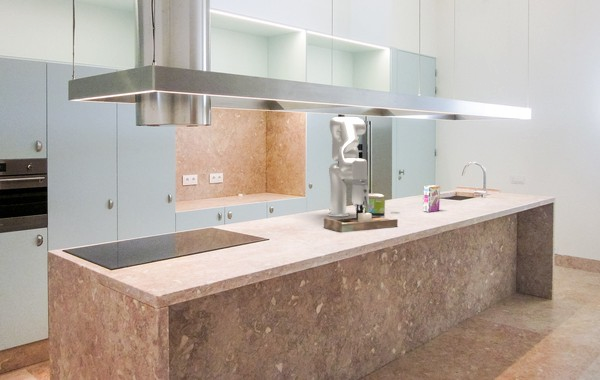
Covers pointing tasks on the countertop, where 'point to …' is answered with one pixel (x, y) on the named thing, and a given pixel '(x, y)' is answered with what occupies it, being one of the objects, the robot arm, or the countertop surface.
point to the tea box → (376, 205)
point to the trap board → (358, 224)
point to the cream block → (364, 217)
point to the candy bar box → (431, 198)
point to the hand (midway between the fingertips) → (359, 217)
